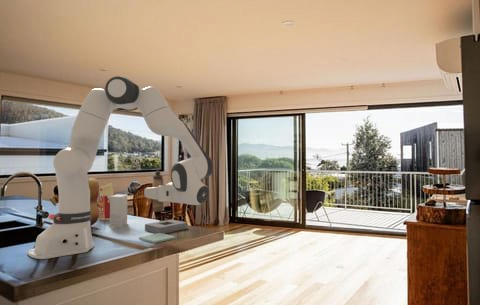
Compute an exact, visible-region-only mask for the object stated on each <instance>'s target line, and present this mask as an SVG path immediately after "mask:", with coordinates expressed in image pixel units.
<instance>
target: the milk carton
mask: <svg viewBox="0 0 480 305" xmlns="http://www.w3.org/2000/svg"><path fill="white" fill-rule="evenodd" d="M113 195H115V191H114V188H113V183H112V182H111V183H108V184H106V185H101V186H100V185H99V195H98V197H99V198H98V209H99V218H98V220H101V221H107V220H109V221H110V196H113Z"/></svg>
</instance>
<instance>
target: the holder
mask: <svg viewBox="0 0 480 305" xmlns="http://www.w3.org/2000/svg"><path fill="white" fill-rule="evenodd" d="M187 229H188V222H187V221H182V220H176V219H166V220H161V221H155V222H151V223H150V222H149V223H145V224H144V231H147V232H150V233H153V234H157V233H163V234H168V233H173V232H176V231H182V230H187Z"/></svg>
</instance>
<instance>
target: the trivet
mask: <svg viewBox="0 0 480 305" xmlns="http://www.w3.org/2000/svg"><path fill="white" fill-rule="evenodd" d="M138 239H139V240H141V241H145V242H147V243H151V244H158V243H162V242H166V241H170V240H174V239H175V240H176V236H175V235H170V234H168V233H164V234H163V233H153V234H148V235H143V236H139V237H138Z"/></svg>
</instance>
